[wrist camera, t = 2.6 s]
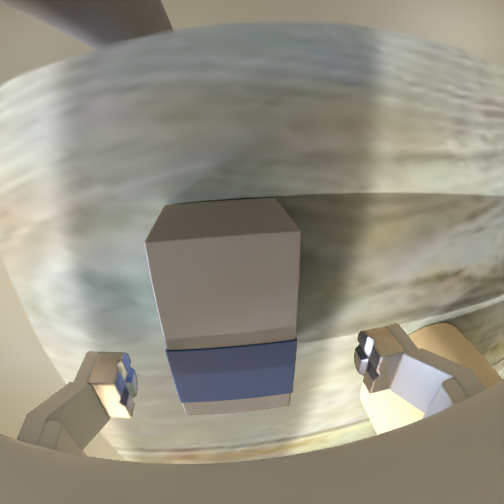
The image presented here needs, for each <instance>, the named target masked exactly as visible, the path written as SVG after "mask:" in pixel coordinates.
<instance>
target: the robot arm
mask: <svg viewBox="0 0 504 504" xmlns="http://www.w3.org/2000/svg"><path fill="white" fill-rule="evenodd" d="M357 340H358V342H359V343H360V344H359V345H358V347H357V348H356V349H355V353H354V363H355V366H356V369H357V371H358V373H360V374H361V375H363V376H364V379H363V382H364V384H365V386H366V388H367V390H368V392H369V393H370V394H371V393H375V392H379V391H383V390H387V389H390V390H391V391H392V392H394V393H395V394H397V395H398V396H400V397H401V398H402V399H404V400H405V401H407V402H408V403H410V404H411V405H413V406H414V407H416V408H417V409H419V410H420V411H422V412H423V413H425V414H424V416H423V418H422V419H421V420H418V421H415V422H413V423H410V424H407V425H405V426H402V427H399V428H396V429H393V430H390V431H387V432H384V433H381V434H378V435H375V436H372V437H368V438H365V439H362V440H358V441H354V442H351V443H347V444H343V445H339V446H335V447H330V448H326V449H322V450H317V451H312V452H307V453H302V454H296V455H290V456H284V457H277V458H270V459H262V460H253V461H243V462H231V463H213V464H158V463H141V462H129V461H119V460H110V459H103V458H96V457H89V456H87V455H86V454H85V453H84V452H83V449H84V448H85V447H86V446H87V444H88V443H89V442H90V441H91V440H92V439H93V438H94V437H95V436H96V434H97V433H98V432H99V431H100V430H101V429H102V428H103V426H104V425H105V424H106V423H107V422H108V421H109V420H110V418H127V419H132V415H133V410H134V405H135V404H134V402H133V400H132V399H133V398H134V397H135V396H136V395H137V389H138V381H137V376H136V373H135V370H134V369H133V368H131V367H130V363H131V360H130V357H129V355H128V354H127V353H122V352H91V351H89V352H88V353H86V355H85V357H84V360H83V362H82V364H81V366H80V369H79V371H78V373H77V376H76V378H75V380H74V382H70V383H68V384H67V385H66V386H64V387H63V388H62V389H60V390H59V391H58V392H56V393H55V394H54V395H52V396H51V397H50V398H49V399H47V400H46V401H45V402H43V403H42V404H40V405H39V406H38V407H36V408H35V409H34V410H33V411H31V412H30V413H28V414H27V416H26V419H25V421H24V423H23V425H22V428H21V430H20V433H19V435H18V438H17V439H13V438H10V437H7V436H4V435H1V434H0V504H504V379H502V380H501V381H499V382H497V383H496V384H494V385H492V386H490V387H488V388H487V389H486V388H485V386H484V385H483V384H482V383H481V381H480V380H479V379H478V378H477V376H476V375H475V374H474V373H473V372H472V370H471V369H469V368H467V367H465V366H462V365H460V364H458V363H455V362H453V361H451V360H448V359H446V358H444V357H441V356H439V355H437V354H434V353H432V352H430V351H427V350H425V349H423V348H419V349H418V348H417V346H416V345H415V344H414V343H413V341H412V340H411V339H410V338H409V336H408V335H407V334H406V333H405V332H404V330H403V329H402V328H401V327H400V325H399V324H396V323H395V324H391V325H386V326H383V327H378V328H373V329H368V330H363V331H360V333H359V334H358V339H357Z"/></svg>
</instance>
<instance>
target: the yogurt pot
mask: <svg viewBox="0 0 504 504" xmlns="http://www.w3.org/2000/svg"><path fill="white" fill-rule="evenodd" d="M409 338H410V339H411V340H412V341H413V343H414V344H415V345H416V346H417V348H418V349H419V348H423V349H425V350H427V351H430V352H432V353H434V354H437V355H439V356H441V357H444V358H446V359H448V360H451V361H453V362H455V363H458V364H460V365H462V366H465V367H467V368H469V369H471V370H472V372H473V373H474V374H475V375H476V376H477V378H478V379H479V380H480V381H481V383H482V384H483V385H484V386H485V388H486V389H487V388H488V387H490V386H492V385H494V384H496V383H497V382H499V381H501V380H502V378H501V377H500V376H499V374H498V373H497V372H496V371H495V370H494V369H493V367H492V366H491V365H490V364H489V363H488V362H487V361H486V359H485V358H484V357H483V356H482V355H481V354H480V353H479V352H478V351H477V349H476V348H475V347H474V346H473V345H472V344H471V343H470V342H469V341H468V340H467V339H466V338H465V337H464V335H463V334H462V333H461V332H460V331H459V330H458V329H457V328H456V327H455V326H453V325H451V324H448V323H437V324H432V325H429V326H426V327H424V328H422V329H419V330H417V331H415V332H414V333H412V334H410V335H409ZM360 398H361V402H362V404H363V406H364V408H365V410H366V412H367V414H368V416H369V419H370V421H371V423H372V425H373V427H374V429H375V431H376V433H377V435H378V434H381V433H384V432H387V431H390V430H393V429H396V428H399V427H402V426H405V425H407V424H410V423H413V422H415V421H418V420H421V419H422V418H423V416H424V414H425V413H423V412H422V411H420V410H419V409H417V408H416V407H414V406H413V405H411V404H410V403H408V402H407V401H405V400H404V399H402V398H401V397H400V396H398V395H397V394H395V393H394V392H392V391H391V390H390V389H387V390H383V391H379V392H375V393H371V394H370V393H369V392H368V390H367V388H366V386H365V384H364V383H363V385H362V388H361V393H360Z"/></svg>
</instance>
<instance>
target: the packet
mask: <svg viewBox="0 0 504 504" xmlns="http://www.w3.org/2000/svg"><path fill="white" fill-rule="evenodd" d="M301 233H302V232H301V230H300V229H299V227H298V226H297V225H296V224H295V222H294V221H293V220H292V219H291V217H290V216H289V215H288V214H287V212H286V211H285V210H284V209H283V208H282V206H281V205H280V204H279V203H278V201H277V200H276V199H275V198H259V199H242V200H226V201H212V202H198V203H186V204H174V205H165V206H164V207H163V209H162V211H161V213H160V214H159V216H158V218H157V220H156V222H155V223H154V225H153V227H152V229H151V231H150V233H149V235H148V237H147V238H146V240H145V243H144V245H145V250H146V256H147V262H148V267H149V272H150V277H151V283H152V287H153V292H154V297H155V302H156V306H157V311H158V315H159V319H160V324H161V328H162V332H163V336H164V340H165V344H166V354H167V358H168V362H169V365H170V369H171V372H172V376H173V379H174V382H175V386H176V389H177V392H178V396H179V399H180V402H181V403H183V407H184V410H185V413H186V415H206V414H222V413H235V412H245V411H255V410H263V409H271V408H278V407H285V406H289V405H290V396H291V393H292V391H293V381H294V371H295V360H296V349H297V338H296V326H297V312H298V296H299V278H300V258H301Z"/></svg>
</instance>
